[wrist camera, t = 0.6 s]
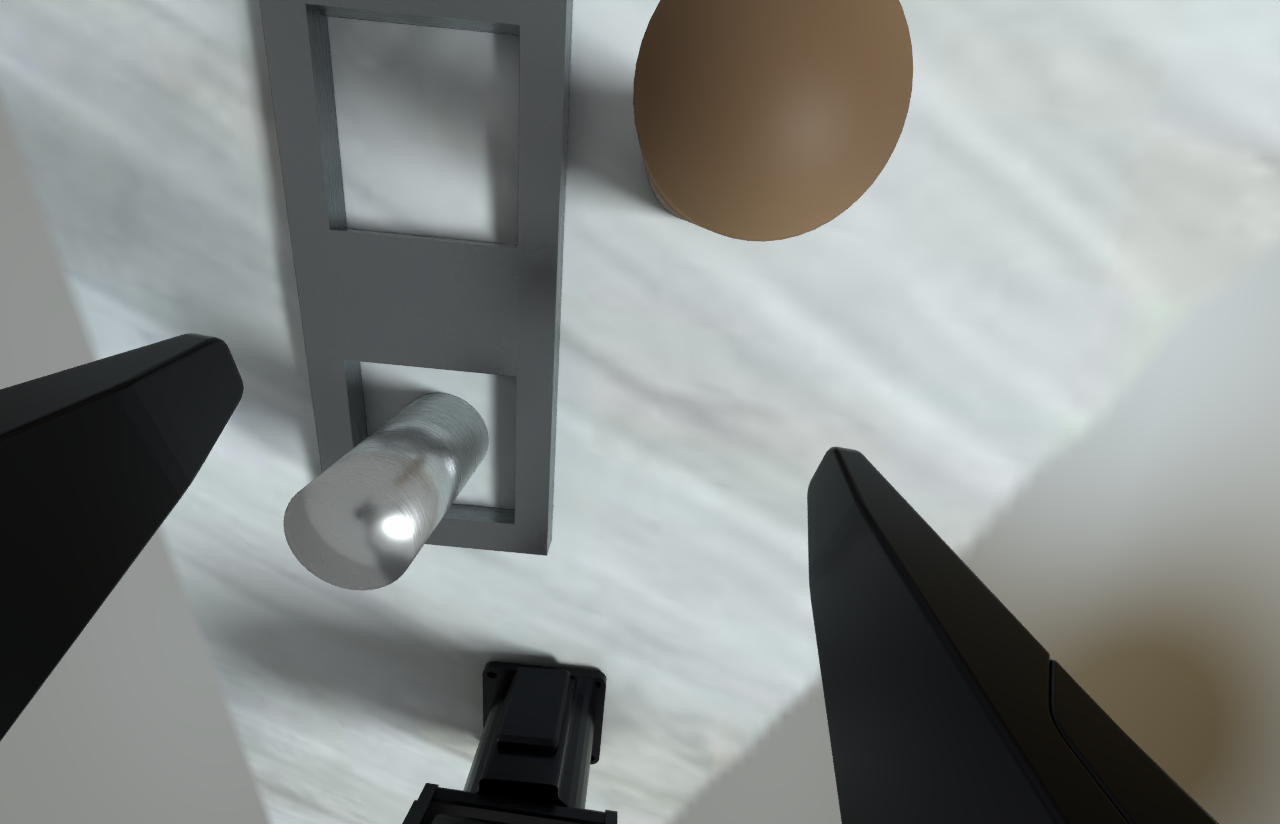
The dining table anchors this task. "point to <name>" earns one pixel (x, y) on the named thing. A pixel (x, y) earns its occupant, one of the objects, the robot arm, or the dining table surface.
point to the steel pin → (386, 494)
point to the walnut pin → (770, 109)
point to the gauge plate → (430, 252)
